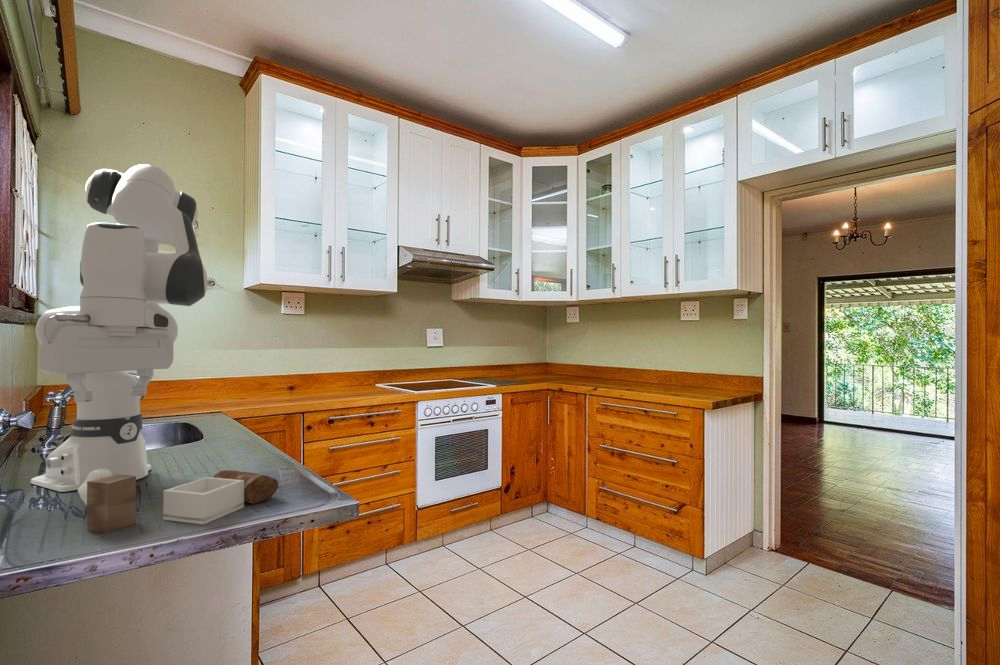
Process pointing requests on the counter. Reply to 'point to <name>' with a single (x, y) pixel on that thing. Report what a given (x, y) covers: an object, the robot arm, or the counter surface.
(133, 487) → the walnut block
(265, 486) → the bread
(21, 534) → the counter surface
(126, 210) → the robot arm
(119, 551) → the counter surface
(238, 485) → the bin
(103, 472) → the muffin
